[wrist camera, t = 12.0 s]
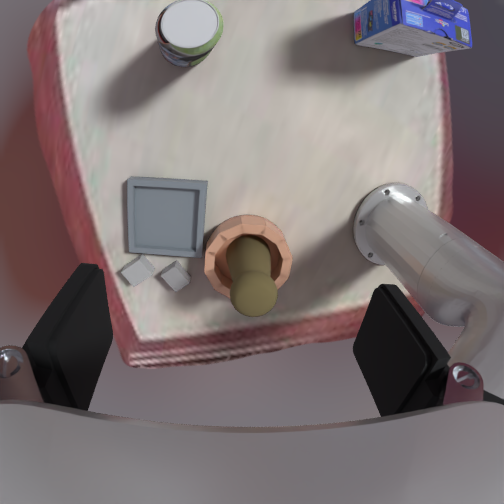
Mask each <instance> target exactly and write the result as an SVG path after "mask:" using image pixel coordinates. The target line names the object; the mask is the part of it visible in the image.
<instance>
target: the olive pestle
mask: <svg viewBox="0 0 504 504" xmlns="http://www.w3.org/2000/svg"><path fill="white" fill-rule="evenodd" d="M226 260H227V264H228V267H229V271H230V274H231V278H232V281H233V283H232V285H231V289H230V299H231V303H232V305H233V306H234V308H235V309H236V310H237V311H238V312H239V313H241V314H243V315H246V316H249V317H257V316H261V315H264V314H266V313H267V312H269V311H270V310H271V309H272V308H273V307H274V305H275V304H276V300H277V296H278V292H277V286H276V284H275V282H274V280H273V279H272V278H271V254H270V248H269V246H268V244H267V243H266V242H265V241H264V240H263V239H262V238H260V237H258V236H254V235H243V236H240V237H238V238H236V239H235V240H233V241H232V242H231V243H230V245H229V246H228V248H227V251H226Z"/></svg>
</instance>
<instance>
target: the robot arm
mask: <svg viewBox="0 0 504 504" xmlns="http://www.w3.org/2000/svg"><path fill="white" fill-rule="evenodd" d="M385 190H386V191H385ZM360 220H361V221H360ZM353 232H354V239H355V243H356V245H357V247H358V249H359V251H360V252H361V253H362V255H363V256H364V257H365V258H366V259H368V260H369V261H371V262H373V263H375V264H379V265H386V266H387V267H388V268H389V269H390V270H391V272H392V273H393V274H394V275H395V276H396V277H397V279H398V280H399V281H400V282H401V283H402V285H403V286H404V287H405V288H406V289H407V291H408V292H409V293H410V294H411V295H412V297H413V298H414V299H415V300H416V302H417V303H418V304H419V305H420V306H421V308H422V309H423V310H424V311H425V312H426V314H427V315H428V316H429V317H430V318H432V319H433V320H434V321H436V322H438V323H440V324H443V325H447V326H458V327H460V326H465V327H464V329H463V331H462V333H461V334H460V336H459V337H458V339H457V340H456V341H455V344H454V345H453V346H452V348H451V349H450V350H449V351H448V352H447V351H446V349H445V348H444V347H443V345H442V344H441V342H440V341H439V340H438V338H437V337H436V336H435V334H434V333H433V332H432V330H431V329H430V328H429V327H428V325H427V324H426V322H425V321H424V320H423V318H422V317H421V316H420V314H419V313H418V312H417V310H416V309H415V308H414V307H413V305H412V304H411V303H410V302H409V300H408V299H407V298H406V296H405V295H404V294H403V293H402V291H401V290H400V289H399V288H398V287H397V286H396V285H393V284H381V285H380V286H379V287H378V288H376V289H375V290H374V292H373V295H372V297H371V300H370V303H369V306H368V308H367V311H366V314H365V316H364V319H363V322H362V324H361V327H360V329H359V332H358V334H357V337H356V340H355V342H354V345H353V353H354V355H355V358H356V360H357V362H358V364H359V367H360V369H361V371H362V373H363V376H364V378H365V380H366V382H367V385H368V387H369V389H370V392H371V394H372V396H373V399H374V401H375V403H376V406H377V408H378V410H379V413H380V415H381V417H377V418H371V419H364V420H356V421H348V422H339V423H328V424H317V425H303V426H285V427H284V426H283V427H219V426H198V425H185V424H174V423H163V422H155V421H147V420H139V419H132V418H126V417H119V416H113V415H107V414H101V413H95V412H90V411H88V408H89V405H90V402H91V399H92V396H93V393H94V390H95V387H96V384H97V381H98V378H99V376H100V373H101V370H102V367H103V364H104V362H105V359H106V356H107V354H108V351H109V348H110V346H111V343H112V339H113V330H112V325H111V319H110V313H109V307H108V300H107V293H106V286H105V279H104V272H103V270H102V269H99V267H98V265H97V264H87V263H81V264H80V265H79V266H78V267H77V269H76V270H75V271H74V273H73V274H72V275H71V277H70V278H69V279H68V281H67V282H66V283H65V285H64V286H63V287H62V289H61V290H60V292H59V293H58V294H57V296H56V297H55V299H54V300H53V301H52V303H51V304H50V306H49V307H48V309H47V310H46V311H45V313H44V314H43V316H42V317H41V319H40V320H39V322H38V323H37V325H36V327H35V328H34V329H33V331H32V333H31V334H30V336H29V337H28V339H27V340H26V342H25V344H24V346H23V347H22V348H21V347H18V346H15V345H8V346H2V347H0V504H504V262H503V261H502V260H500V259H499V258H497V257H496V256H494V255H493V254H492V253H490V252H489V251H487V250H486V249H484V248H483V247H482V246H480V245H479V244H478V243H476V242H475V241H473V240H472V239H471V238H469V237H468V236H466V235H465V234H464V233H462V232H461V231H459V230H458V229H456V228H455V227H454V226H452V225H451V224H449V223H448V222H446V221H445V220H443V219H442V218H440V217H439V216H437V215H436V214H434V213H433V212H431V211H430V210H428V207H427V204H426V201H425V200H424V198H423V196H422V195H421V194H420V193H419V192H418V191H417V190H416V189H414V188H412V187H411V186H408V185H406V184H402V183H390V184H385V185H383V186H381V187H379V188H377V189H375V190H374V191H373V192H371V193H370V194H369V195H368V196H367V197H366V198H365V200H364V201H363V202H362V204H361V205H360V207H359V209H358V211H357V213H356V217H355V220H354V228H353Z"/></svg>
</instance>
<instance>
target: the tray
mask: <svg viewBox="0 0 504 504" xmlns="http://www.w3.org/2000/svg"><path fill="white" fill-rule="evenodd" d="M207 183H208V181H201V180H187V179H171V178H152V177H130V178H128V179H127V209H128V240H129V252H133V253H145V254H158V255H170V256H183V257H196V258H202V254H203V238H204V223H205V209H206V196H207Z"/></svg>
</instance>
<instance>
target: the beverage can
mask: <svg viewBox="0 0 504 504" xmlns="http://www.w3.org/2000/svg"><path fill="white" fill-rule="evenodd" d="M155 32H156V37H157V40H158V43H159V46H160V49H161V52H162V54H163V56H164V57H165V59H166V60H167V61H168V62H170V63H172V64H174V65H176V66H180V67H188V66H193V65H196V64H198V63H200V62H201V61H203V60H204V59H205V58H206V57H207V56H208V54H209V53H210V52H211V50H212V49H213V47H214V46H215V45H216V43H217V42H218V41H219V39H220V37H221V35H222V32H223V19H222V16H221V14H220V12H219V11H218V9H217V8H216V7H215V6H214V5H213V4H211V3H209V2H208V1H205V0H178V1H175V2H173V3H171V4H170V5H168V6H167V7H166V8H165V9H164V10H163V11H162V12H161V13H160V15H159V17H158V19H157V22H156V27H155Z"/></svg>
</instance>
